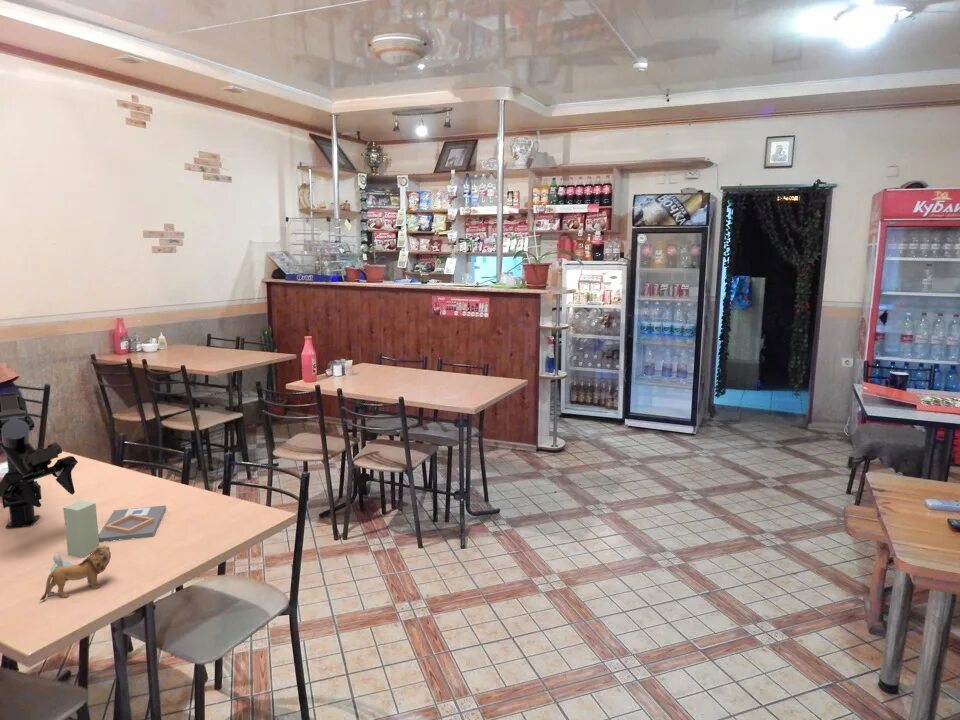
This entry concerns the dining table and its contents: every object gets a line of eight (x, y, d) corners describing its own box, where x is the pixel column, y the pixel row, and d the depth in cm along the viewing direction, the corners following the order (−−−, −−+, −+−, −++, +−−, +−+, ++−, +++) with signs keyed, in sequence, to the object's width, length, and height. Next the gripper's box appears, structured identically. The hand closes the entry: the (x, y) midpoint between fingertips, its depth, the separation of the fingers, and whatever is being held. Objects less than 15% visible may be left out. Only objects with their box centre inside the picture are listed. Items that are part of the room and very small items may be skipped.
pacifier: (79, 566, 155) (50, 572, 152) (78, 542, 154) (49, 548, 151) (81, 578, 150) (51, 585, 146) (80, 554, 149) (49, 560, 145)
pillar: (68, 554, 161) (63, 507, 158) (85, 546, 165) (81, 500, 163) (82, 558, 159) (77, 510, 157) (99, 549, 164) (95, 503, 162)
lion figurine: (109, 574, 151) (106, 540, 150) (116, 582, 148) (113, 547, 146) (37, 598, 140) (33, 561, 139) (43, 607, 137) (39, 569, 135)
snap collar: (105, 529, 173) (104, 525, 172) (131, 517, 181) (130, 513, 180) (129, 534, 170) (128, 530, 170) (154, 522, 178) (154, 518, 178)
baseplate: (114, 514, 186) (114, 509, 186) (166, 509, 190) (165, 504, 190) (96, 542, 167) (95, 537, 167) (153, 536, 172) (153, 531, 171)
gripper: (-2, 446, 152) (35, 494, 151) (69, 427, 170) (103, 470, 168) (-20, 472, 156) (15, 520, 155) (51, 451, 174) (84, 494, 172)
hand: (57, 499), depth 162 cm, fingers open, 9 cm apart
